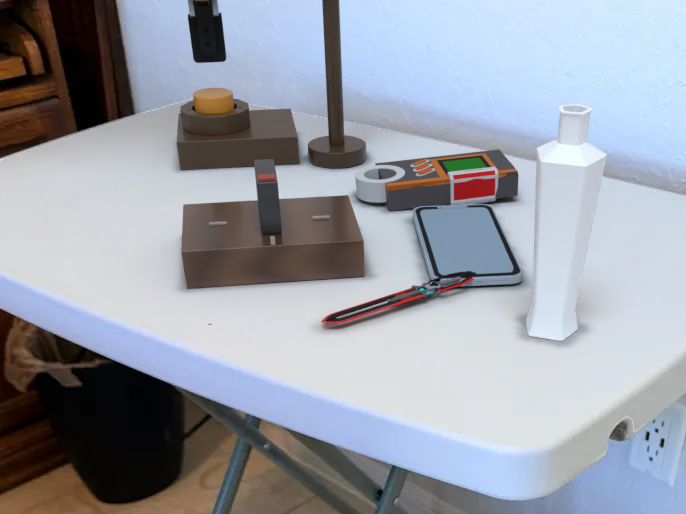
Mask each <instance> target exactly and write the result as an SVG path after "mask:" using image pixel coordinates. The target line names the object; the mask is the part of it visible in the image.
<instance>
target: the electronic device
mask: <svg viewBox="0 0 686 514" xmlns="http://www.w3.org/2000/svg"><path fill="white" fill-rule="evenodd" d="M354 177H355V191H356V197H357V198H358V199H359V200H361V201H364V202H366V203H367V202H368V203H378V204H379V203H381V204H382V203H384V204H385V206H386V208H387V210H388V212H393V211H394V212H395V211H402V210H411V209H415V208H417V207H421V206H442V205H467V204H484V203H490V202H496V200H497V199H503V198H510V197H518V195H519V171H518V170H517V168H516V167H515V166H514V164H513V163H512V161H510V160H509V159H508V158H507V156H506V155H505V154H504V152H502V150H501V149H490V150H482V151H481V150H480V151H473V152H465V153H455V154H446V155H438V156H430V157H429V156H428V157H419V158H412V159H402V160H395V161H394V160H393V161H385V162H384V161H383V162H377V163H376V162H375V165H370V166H366V167H363V168H361V169H358V170H356V173H355V174H354Z"/></svg>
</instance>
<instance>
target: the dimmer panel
mask: <svg viewBox="0 0 686 514" xmlns="http://www.w3.org/2000/svg"><path fill="white" fill-rule="evenodd" d="M279 204H280V216H281V228H282V233H271V234H262V233H261V225H260V217H259V209H258V199H256V200H239V201H238V200H237V201H236V200H235V201H218V202H203V203H202V202H201V203H185V204H183V206H182V225H181V227H182V228H181V248H180V249H181V250H180V253H181V260H182V267H183V272H184V279H185V285H186V289H197V288H212V287H213V288H214V287H228V286H241V285H242V286H243V285H255V284H271V283H284V282H285V283H286V282H288V283H289V282H300V281H301V282H302V281H316V280H330V279H331V280H332V279H346V278H360V277H361V278H362V277H365V276H366V275H365V245H364V244H365V243H364V242H365V241H364V237H363V235H362V231H361V228H360V226H359V222H358V220H357V218H356V213H355V210H354V208H353V204H352V201H351V199H350V196H349V195H348V194H346V195H345V194H344V195H328V196H327V195H326V196H308V197H291V198H279Z"/></svg>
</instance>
